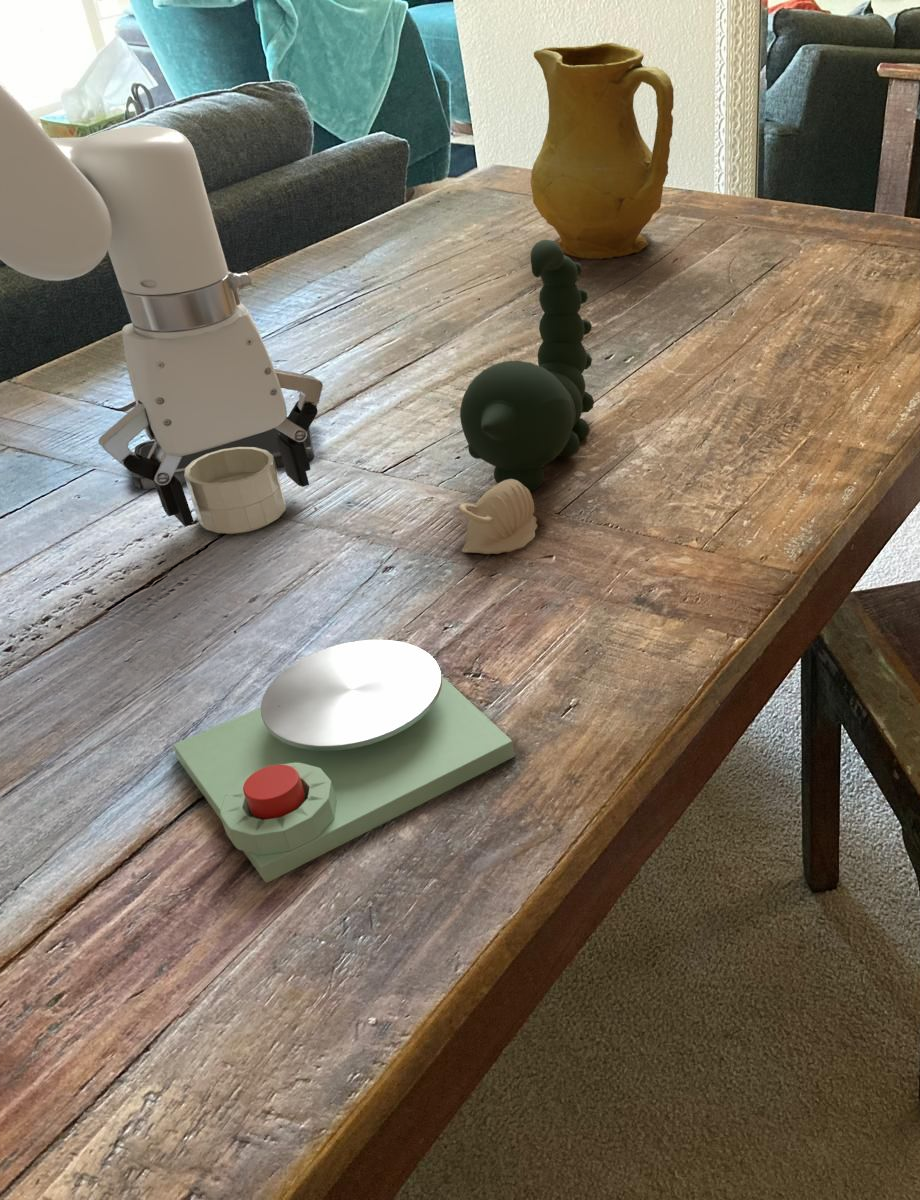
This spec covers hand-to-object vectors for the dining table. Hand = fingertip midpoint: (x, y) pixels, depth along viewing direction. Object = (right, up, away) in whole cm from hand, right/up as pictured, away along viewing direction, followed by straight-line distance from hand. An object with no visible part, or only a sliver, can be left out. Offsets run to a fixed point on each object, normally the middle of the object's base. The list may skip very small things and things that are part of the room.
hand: (242, 499), depth 100 cm
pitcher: (+20, +39, +63) cm, 77 cm away
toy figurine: (+23, +5, +11) cm, 26 cm away
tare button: (+17, -20, -32) cm, 41 cm away
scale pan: (+18, -15, -24) cm, 33 cm away
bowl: (0, -1, +1) cm, 2 cm away
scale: (+18, -19, -25) cm, 36 cm away
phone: (-6, +5, +10) cm, 12 cm away
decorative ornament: (+22, -4, -2) cm, 23 cm away
